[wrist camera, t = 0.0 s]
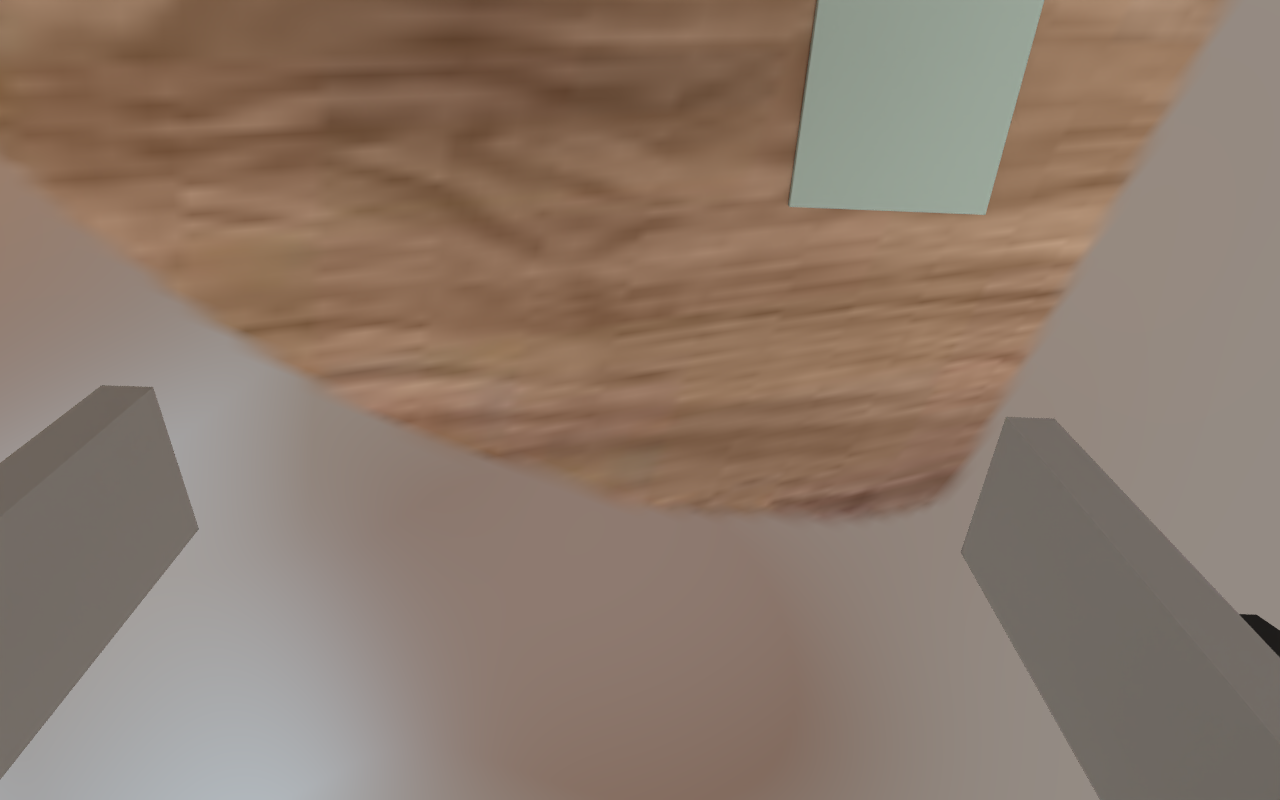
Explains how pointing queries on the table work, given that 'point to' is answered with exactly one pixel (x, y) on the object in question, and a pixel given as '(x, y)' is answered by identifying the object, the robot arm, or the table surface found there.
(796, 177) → the mat
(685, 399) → the table surface
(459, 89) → the table surface
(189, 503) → the robot arm
